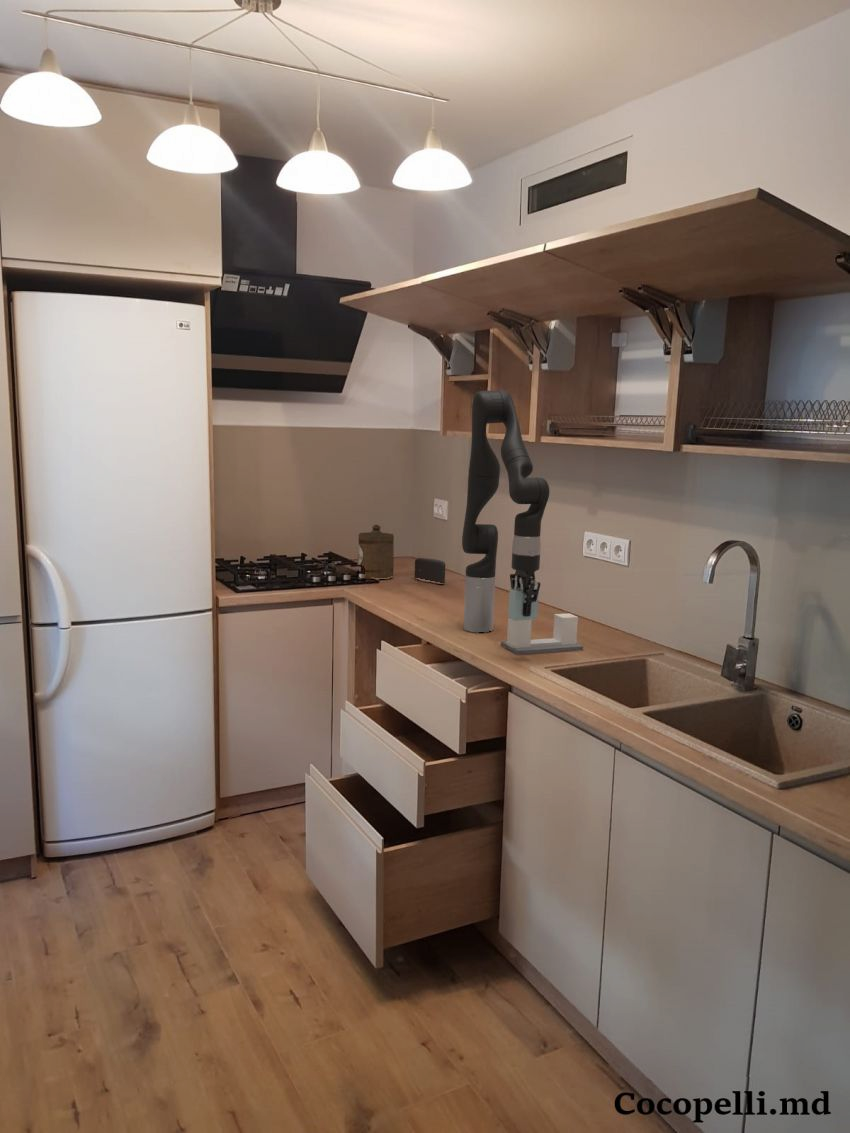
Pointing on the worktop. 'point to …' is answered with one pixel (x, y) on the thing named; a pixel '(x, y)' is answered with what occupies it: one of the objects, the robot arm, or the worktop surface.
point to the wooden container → (376, 553)
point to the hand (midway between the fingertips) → (522, 614)
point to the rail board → (560, 642)
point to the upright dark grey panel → (430, 569)
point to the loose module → (520, 606)
